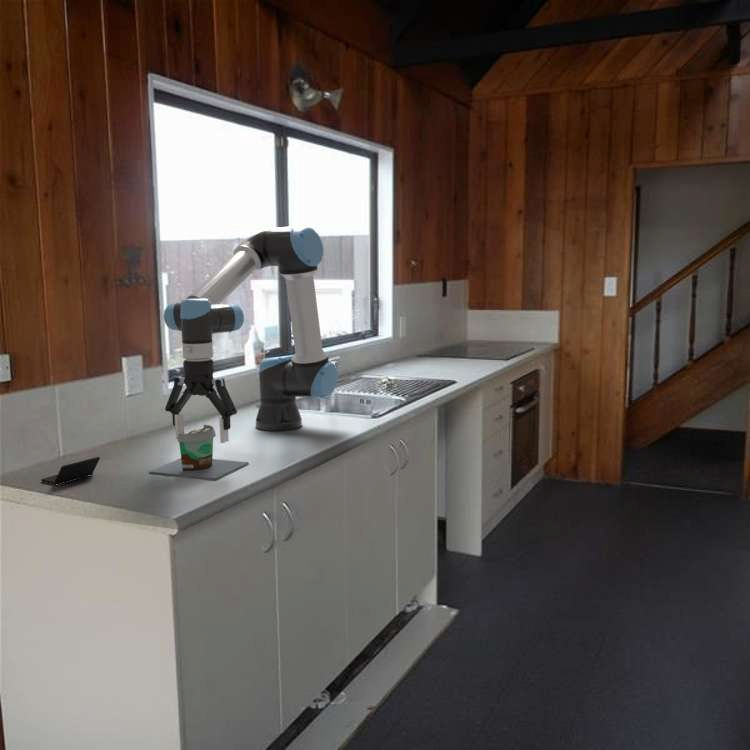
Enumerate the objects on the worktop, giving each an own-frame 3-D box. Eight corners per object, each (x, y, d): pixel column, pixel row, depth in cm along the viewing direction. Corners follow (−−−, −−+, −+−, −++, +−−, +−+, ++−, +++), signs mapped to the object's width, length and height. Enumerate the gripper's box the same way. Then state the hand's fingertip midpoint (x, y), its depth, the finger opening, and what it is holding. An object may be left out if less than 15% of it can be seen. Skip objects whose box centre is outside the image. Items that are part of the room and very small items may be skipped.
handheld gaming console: (71, 465, 193) (84, 439, 189) (91, 483, 192) (104, 457, 188) (36, 483, 183) (49, 456, 179) (57, 502, 182) (70, 475, 178)
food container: (199, 474, 187) (197, 435, 186) (178, 472, 190) (177, 433, 188) (226, 462, 199) (224, 425, 197) (206, 460, 201) (205, 424, 200)
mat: (185, 458, 206) (185, 456, 206) (248, 464, 199) (248, 462, 199) (148, 473, 191) (148, 471, 191) (215, 480, 184) (215, 478, 184)
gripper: (148, 359, 191) (153, 439, 194) (232, 362, 182) (236, 447, 185) (166, 355, 198) (170, 433, 201) (248, 359, 189) (251, 440, 192)
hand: (202, 440), depth 193 cm, fingers open, 13 cm apart
